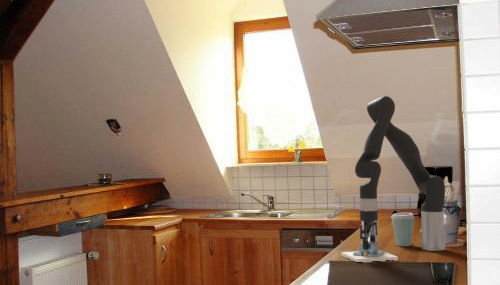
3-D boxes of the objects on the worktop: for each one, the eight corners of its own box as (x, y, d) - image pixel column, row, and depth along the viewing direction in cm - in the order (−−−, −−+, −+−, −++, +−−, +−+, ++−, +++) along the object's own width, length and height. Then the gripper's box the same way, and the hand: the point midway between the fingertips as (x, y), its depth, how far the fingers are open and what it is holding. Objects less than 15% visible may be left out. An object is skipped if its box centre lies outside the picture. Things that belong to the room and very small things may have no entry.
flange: (361, 251, 244) (361, 239, 244) (384, 253, 239) (384, 241, 239) (353, 255, 235) (353, 243, 235) (376, 257, 230) (376, 245, 230)
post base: (380, 253, 247) (380, 238, 247) (397, 260, 231) (397, 244, 231) (341, 255, 243) (341, 240, 243) (356, 262, 227) (356, 246, 227)
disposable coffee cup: (405, 247, 260) (405, 215, 261) (386, 245, 269) (386, 213, 269) (419, 245, 267) (419, 213, 267) (400, 242, 275) (399, 211, 276)
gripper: (365, 207, 245) (366, 244, 245) (353, 210, 233) (354, 250, 233) (382, 207, 241) (383, 246, 241) (371, 211, 229) (372, 251, 229)
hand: (369, 248), depth 237 cm, fingers open, 8 cm apart
